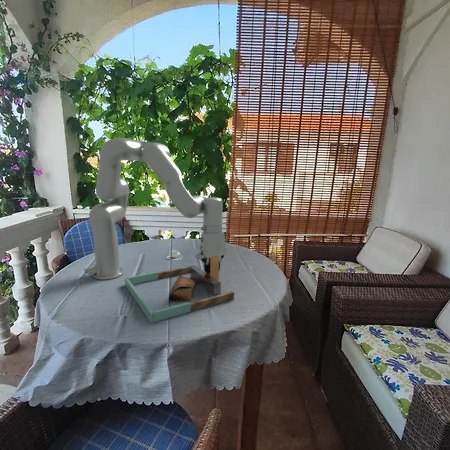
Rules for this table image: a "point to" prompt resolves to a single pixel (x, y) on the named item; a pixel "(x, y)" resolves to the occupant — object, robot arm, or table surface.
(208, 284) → the plank and post
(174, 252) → the white looped piece
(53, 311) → the table surface
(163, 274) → the channel
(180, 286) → the sunglasses case
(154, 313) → the tray
